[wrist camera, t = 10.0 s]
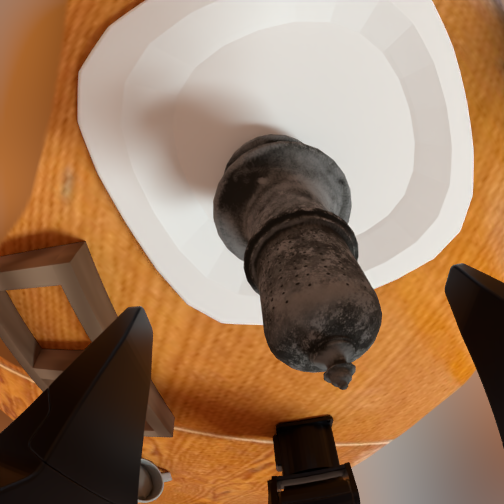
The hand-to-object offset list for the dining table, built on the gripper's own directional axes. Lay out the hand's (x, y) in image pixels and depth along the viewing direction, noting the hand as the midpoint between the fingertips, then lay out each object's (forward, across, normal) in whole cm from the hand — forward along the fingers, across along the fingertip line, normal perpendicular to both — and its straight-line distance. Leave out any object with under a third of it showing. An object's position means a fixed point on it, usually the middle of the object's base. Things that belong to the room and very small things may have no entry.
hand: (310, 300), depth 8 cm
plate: (+11, -2, -2) cm, 11 cm away
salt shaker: (+9, 0, 0) cm, 9 cm away
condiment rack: (+10, +18, +13) cm, 24 cm away
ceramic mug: (+10, +23, +42) cm, 49 cm away
